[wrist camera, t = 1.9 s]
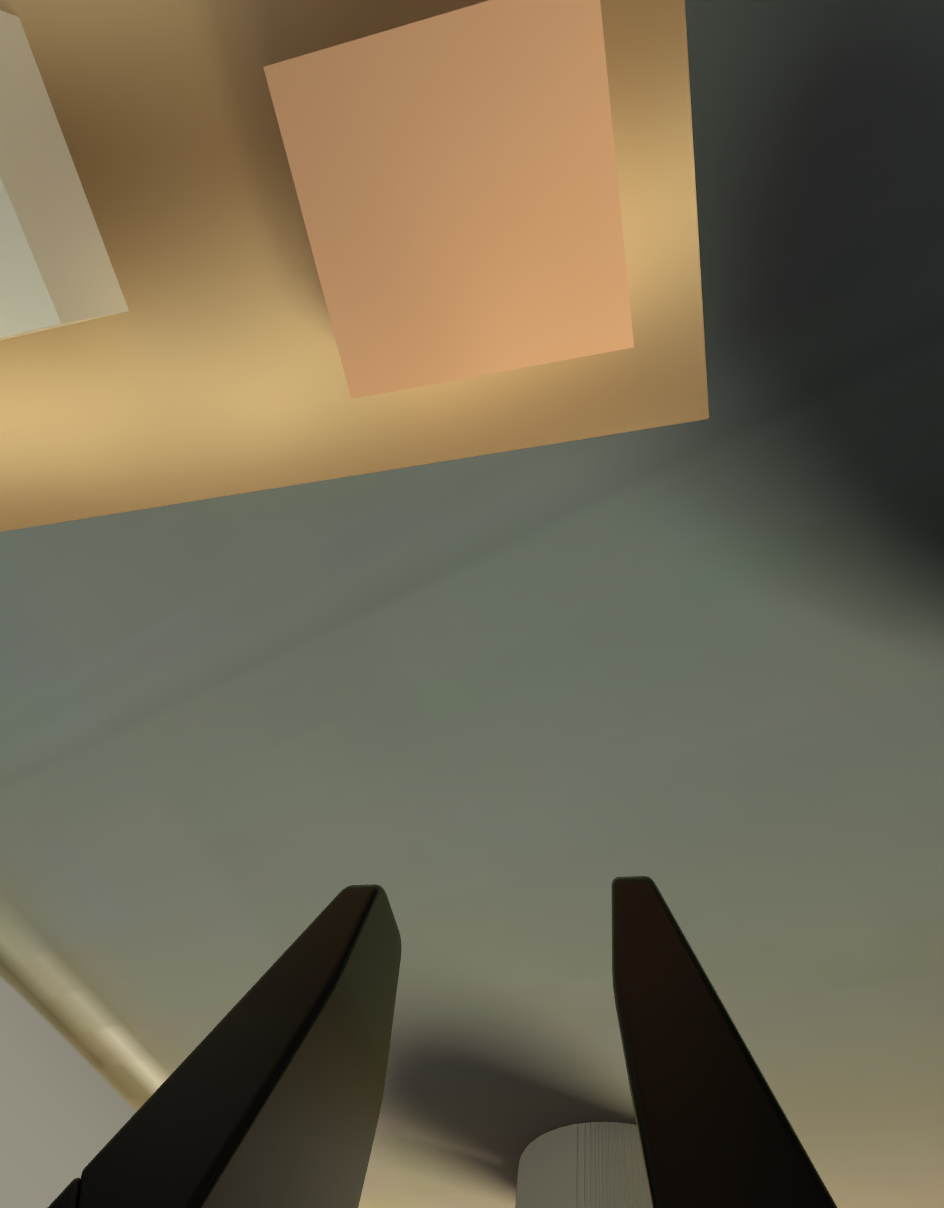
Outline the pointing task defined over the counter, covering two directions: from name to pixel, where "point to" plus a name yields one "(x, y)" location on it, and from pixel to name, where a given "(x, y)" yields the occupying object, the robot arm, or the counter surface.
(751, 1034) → the counter surface
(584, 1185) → the cup
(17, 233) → the off-white tile
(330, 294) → the terracotta tile
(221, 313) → the wooden flat block
